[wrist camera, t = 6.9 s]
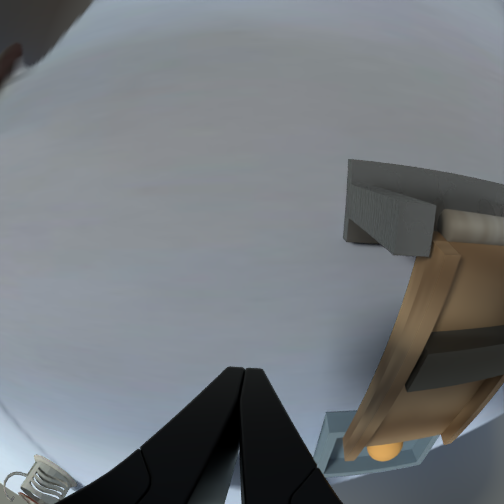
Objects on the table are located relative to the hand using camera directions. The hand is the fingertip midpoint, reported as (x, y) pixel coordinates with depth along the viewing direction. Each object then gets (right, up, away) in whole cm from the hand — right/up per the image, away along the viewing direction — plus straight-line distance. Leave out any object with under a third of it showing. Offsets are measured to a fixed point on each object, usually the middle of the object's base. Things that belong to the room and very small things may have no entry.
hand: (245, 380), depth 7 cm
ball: (+12, -14, +15) cm, 24 cm away
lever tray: (+12, -3, +8) cm, 15 cm away
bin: (+13, -15, +17) cm, 26 cm away
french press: (-37, -37, +28) cm, 59 cm away
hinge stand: (+13, +6, +11) cm, 18 cm away
